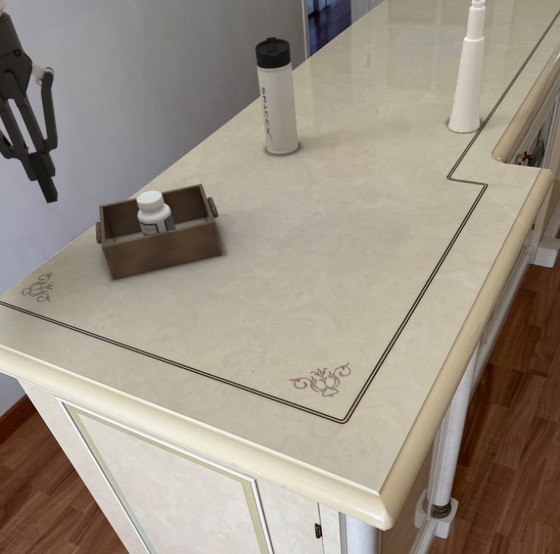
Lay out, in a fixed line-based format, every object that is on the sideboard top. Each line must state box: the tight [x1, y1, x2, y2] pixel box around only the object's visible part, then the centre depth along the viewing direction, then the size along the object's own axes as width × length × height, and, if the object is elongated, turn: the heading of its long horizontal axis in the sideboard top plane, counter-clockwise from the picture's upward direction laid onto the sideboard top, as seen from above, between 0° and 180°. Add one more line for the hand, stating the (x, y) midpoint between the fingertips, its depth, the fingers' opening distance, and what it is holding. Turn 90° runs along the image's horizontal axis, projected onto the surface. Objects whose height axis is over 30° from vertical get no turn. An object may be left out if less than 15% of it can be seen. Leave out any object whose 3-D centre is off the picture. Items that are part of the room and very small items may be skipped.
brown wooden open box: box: [95, 183, 223, 281], centre depth 94 cm, size 19×13×7 cm
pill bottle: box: [136, 190, 177, 236], centre depth 93 cm, size 5×5×9 cm
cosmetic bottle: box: [447, 0, 487, 134], centre depth 110 cm, size 6×6×22 cm
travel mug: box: [254, 36, 299, 157], centre depth 111 cm, size 6×7×20 cm
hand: (52, 198), depth 86 cm, fingers closed
